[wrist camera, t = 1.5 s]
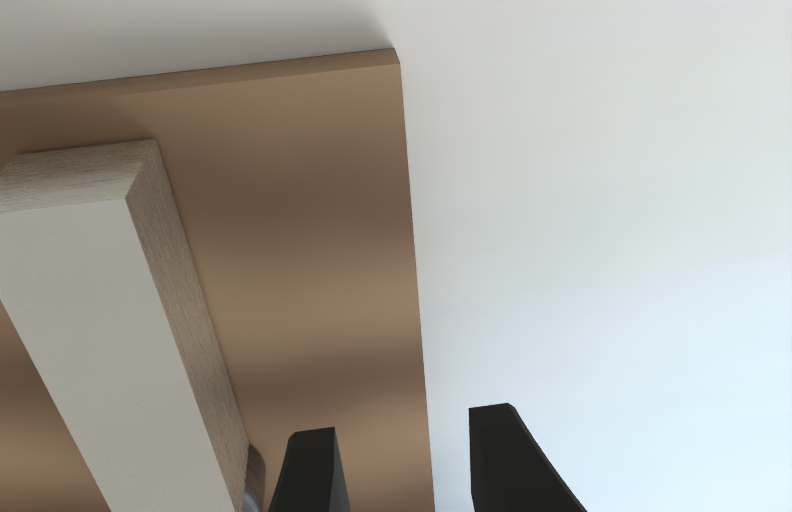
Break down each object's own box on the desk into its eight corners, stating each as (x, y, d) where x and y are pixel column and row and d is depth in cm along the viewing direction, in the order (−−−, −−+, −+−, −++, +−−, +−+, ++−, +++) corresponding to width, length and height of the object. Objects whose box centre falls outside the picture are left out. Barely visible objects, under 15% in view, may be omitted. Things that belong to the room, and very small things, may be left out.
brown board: (430, 487, 24) (450, 599, 20) (-189, 574, 23) (-279, 708, 20) (394, 48, 15) (418, 113, 12) (-613, 160, 14) (-916, 270, 11)
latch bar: (275, 499, 21) (270, 582, 19) (164, 515, 21) (146, 600, 19) (169, 136, 14) (140, 196, 12) (2, 156, 14) (-59, 220, 12)
